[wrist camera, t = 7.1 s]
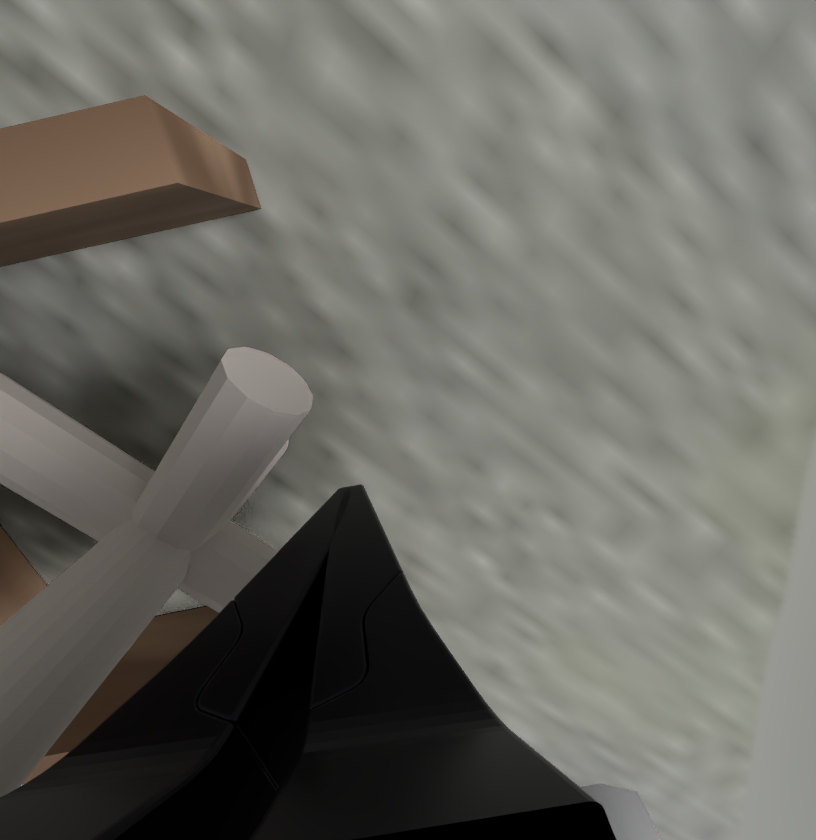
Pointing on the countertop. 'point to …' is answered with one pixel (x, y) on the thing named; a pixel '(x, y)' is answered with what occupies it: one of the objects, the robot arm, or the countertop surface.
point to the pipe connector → (131, 535)
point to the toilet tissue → (624, 812)
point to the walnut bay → (93, 225)
